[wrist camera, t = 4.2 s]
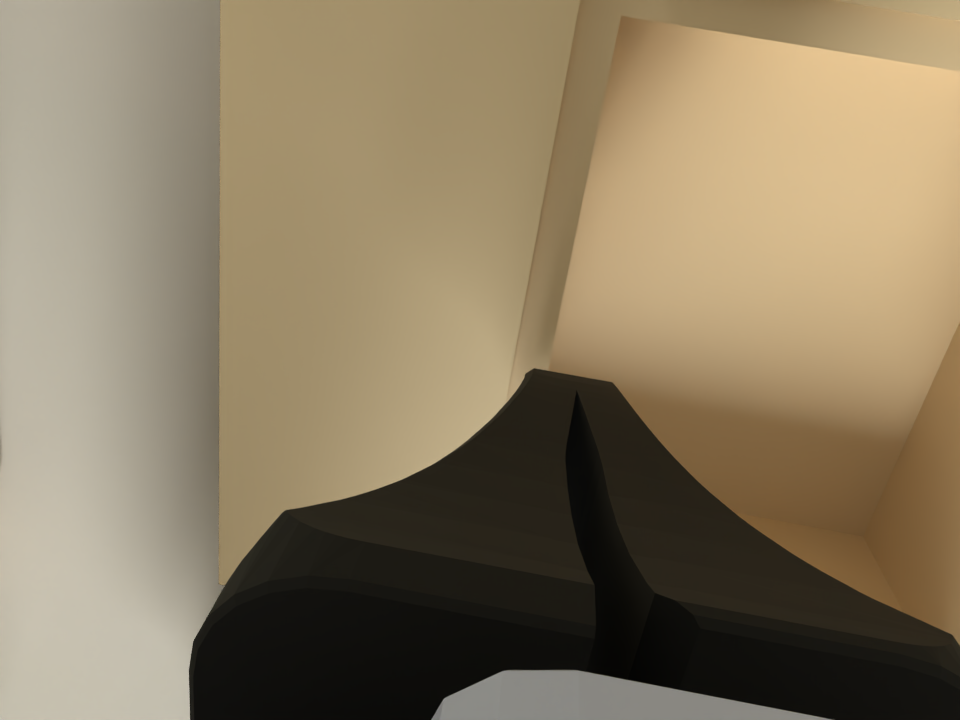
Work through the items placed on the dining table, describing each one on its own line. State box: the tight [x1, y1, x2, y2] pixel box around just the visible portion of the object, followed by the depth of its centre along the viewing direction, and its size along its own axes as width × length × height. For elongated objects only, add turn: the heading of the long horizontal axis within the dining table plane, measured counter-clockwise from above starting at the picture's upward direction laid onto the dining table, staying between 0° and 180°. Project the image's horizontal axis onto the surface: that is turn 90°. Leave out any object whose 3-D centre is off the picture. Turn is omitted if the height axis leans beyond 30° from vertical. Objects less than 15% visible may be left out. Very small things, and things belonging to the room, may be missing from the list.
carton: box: [219, 0, 960, 645], centre depth 14 cm, size 22×15×8 cm
